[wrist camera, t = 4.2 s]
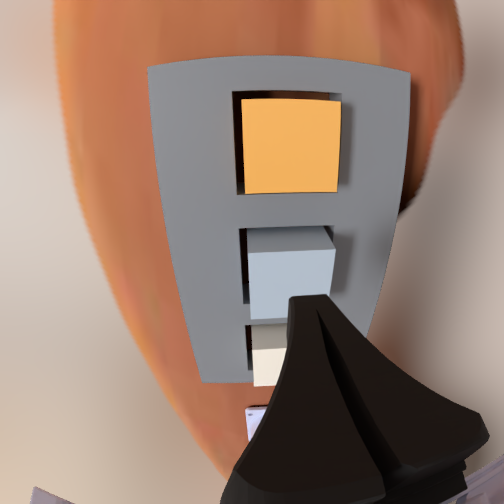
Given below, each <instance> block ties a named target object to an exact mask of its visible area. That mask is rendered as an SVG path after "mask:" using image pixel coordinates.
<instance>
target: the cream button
mask: <svg viewBox="0 0 504 504" xmlns="http://www.w3.org/2000/svg"><path fill="white" fill-rule="evenodd" d="M251 331H252V354H253V374H254V386H270V385H276V383H277V381H278V378H279V375H280V371H281V368H282V365H283V361H284V357H285V353H286V348H287V337H286V332H287V323H278V324H259V325H251Z"/></svg>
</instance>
